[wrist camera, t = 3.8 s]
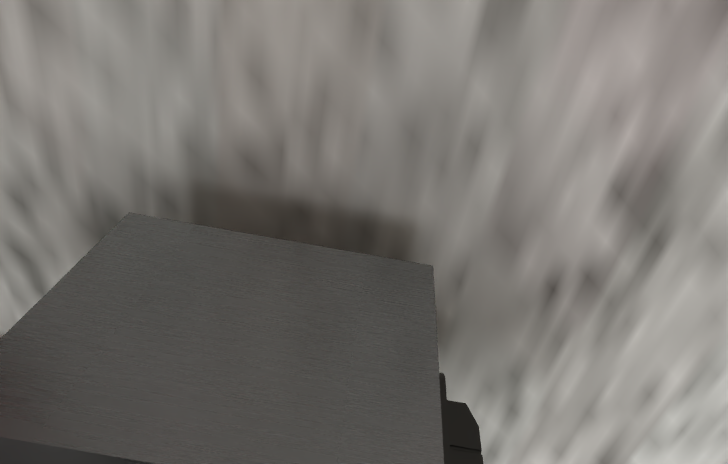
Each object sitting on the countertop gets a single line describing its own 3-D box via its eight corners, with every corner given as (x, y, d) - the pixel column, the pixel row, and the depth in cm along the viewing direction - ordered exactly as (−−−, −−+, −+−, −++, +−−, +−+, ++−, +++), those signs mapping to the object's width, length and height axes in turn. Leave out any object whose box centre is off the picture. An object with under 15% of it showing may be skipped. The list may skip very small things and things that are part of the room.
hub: (129, 212, 10) (-85, 422, 6) (432, 265, 10) (447, 513, 6) (147, 418, 13) (16, 657, 9) (381, 459, 13) (365, 716, 9)
